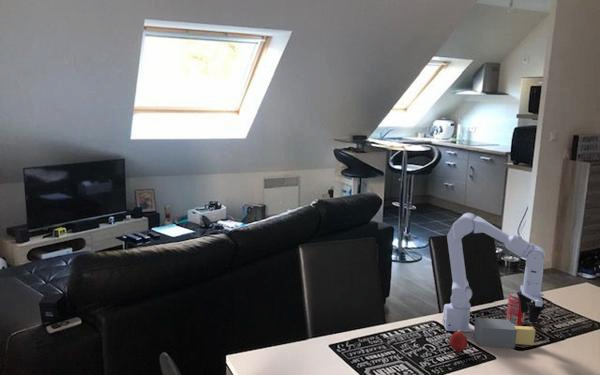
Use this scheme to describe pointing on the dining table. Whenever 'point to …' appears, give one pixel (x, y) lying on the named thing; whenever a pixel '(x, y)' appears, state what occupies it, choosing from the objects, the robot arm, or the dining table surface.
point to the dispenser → (495, 333)
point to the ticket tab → (525, 335)
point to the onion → (458, 341)
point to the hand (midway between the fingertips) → (528, 317)
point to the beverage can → (514, 310)
